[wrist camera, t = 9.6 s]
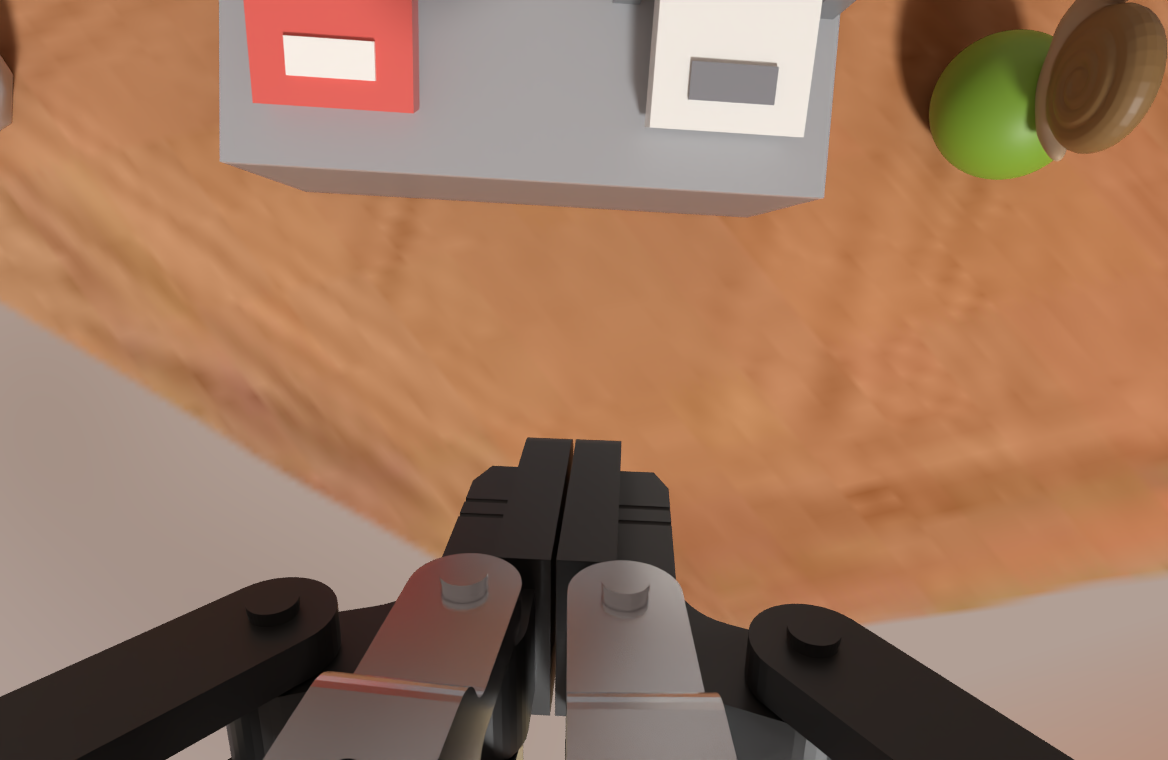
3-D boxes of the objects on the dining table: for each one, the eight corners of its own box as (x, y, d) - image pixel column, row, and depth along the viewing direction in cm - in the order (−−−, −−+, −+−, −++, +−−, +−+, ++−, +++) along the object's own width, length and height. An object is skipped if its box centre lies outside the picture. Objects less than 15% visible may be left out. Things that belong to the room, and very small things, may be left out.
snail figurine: (1043, 32, 34) (1321, -98, 22) (1021, 191, 34) (1278, 149, 23) (916, 20, 33) (1128, -120, 21) (897, 180, 34) (1092, 132, 22)
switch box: (771, -91, 32) (888, -269, 22) (747, 217, 34) (846, 192, 23) (307, -130, 31) (190, -339, 20) (305, 191, 33) (194, 152, 22)
